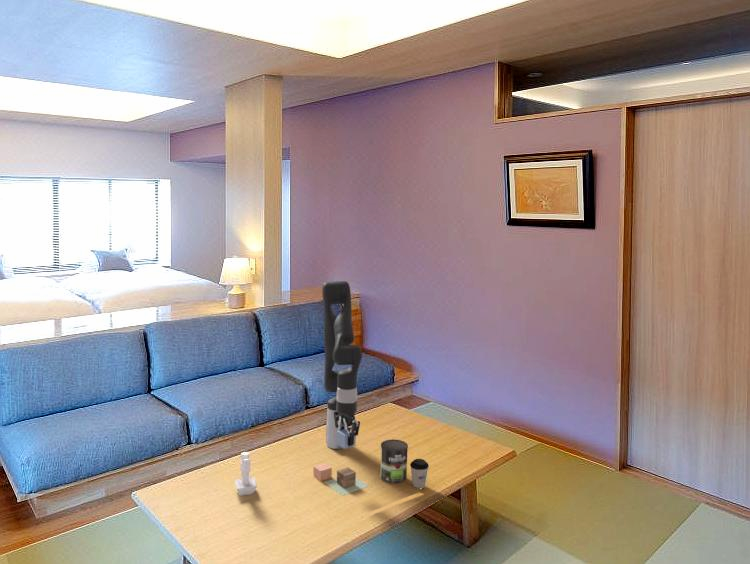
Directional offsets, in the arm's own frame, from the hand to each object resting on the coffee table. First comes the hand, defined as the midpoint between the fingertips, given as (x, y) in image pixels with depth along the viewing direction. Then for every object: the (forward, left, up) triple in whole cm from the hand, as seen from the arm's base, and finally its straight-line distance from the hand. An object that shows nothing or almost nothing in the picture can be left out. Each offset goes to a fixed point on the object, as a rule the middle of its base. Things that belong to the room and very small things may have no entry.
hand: (346, 442), depth 212 cm
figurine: (-18, -32, -17) cm, 40 cm away
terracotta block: (-10, -4, -17) cm, 20 cm away
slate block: (0, 0, -1) cm, 1 cm away
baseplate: (0, 0, -17) cm, 17 cm away
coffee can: (+6, +18, -17) cm, 26 cm away
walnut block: (0, 0, -16) cm, 16 cm away
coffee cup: (+16, +22, -17) cm, 33 cm away
